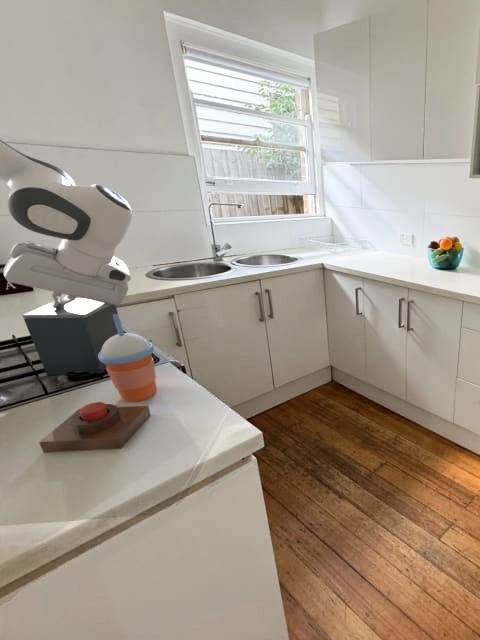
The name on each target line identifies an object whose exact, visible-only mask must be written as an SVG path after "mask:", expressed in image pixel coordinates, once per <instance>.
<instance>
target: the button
mask: <svg viewBox="0 0 480 640" xmlns="http://www.w3.org/2000/svg"><path fill="white" fill-rule="evenodd" d="M105 404H106V403H105V402H102V401H96V402H91V403H88V404H85V405H84V406H82V407H80V408H81V409H80V408H79V409H80V410H79V409H78V410H79V413H80V415H81V418H82V420H83V421H92V420H96V419H99V418H101V417H103V416H105V415H106V414H107V413H108V411H107V408H106V405H105Z"/></svg>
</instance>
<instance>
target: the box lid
mask: <svg viewBox="0 0 480 640" xmlns="http://www.w3.org/2000/svg"><path fill="white" fill-rule="evenodd" d="M110 305H112V304H109V303H103V302H99V301H94V300H89V299H85V298H76V299H75V300H74V301H72V302H70V303H68V304H66V305H65V307H64V308H59V309H56V308H52V302H50V303H48V304H45V305H43V306H41V307H38V308H36V309H33V310H31V311H28V312H26V313H23V314H21V315H22V318H23V319H24V318H86V317H88V316H90V315H92V314H94V313H96V312H98V311H100V310H102V309H104V308H106V307H108V306H110Z"/></svg>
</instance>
